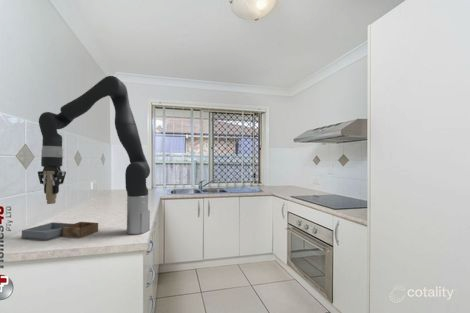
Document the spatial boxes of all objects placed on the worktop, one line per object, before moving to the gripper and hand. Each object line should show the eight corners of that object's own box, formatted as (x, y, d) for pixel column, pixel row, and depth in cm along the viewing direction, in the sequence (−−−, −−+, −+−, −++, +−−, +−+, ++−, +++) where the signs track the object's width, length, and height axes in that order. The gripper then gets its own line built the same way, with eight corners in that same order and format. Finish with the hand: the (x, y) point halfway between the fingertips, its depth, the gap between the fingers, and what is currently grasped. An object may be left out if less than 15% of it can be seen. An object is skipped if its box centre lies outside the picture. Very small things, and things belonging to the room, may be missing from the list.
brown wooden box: (98, 231, 104) (98, 222, 104) (80, 237, 95) (80, 228, 95) (80, 229, 106) (80, 221, 106) (61, 236, 97) (62, 227, 97)
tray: (75, 231, 104) (76, 223, 104) (47, 240, 91) (47, 232, 91) (52, 229, 107) (52, 222, 107) (21, 238, 94) (21, 230, 94)
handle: (51, 202, 103) (52, 170, 103) (61, 202, 101) (62, 170, 101) (40, 204, 98) (41, 171, 98) (50, 204, 96) (51, 171, 97)
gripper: (31, 156, 98) (30, 194, 97) (56, 155, 95) (55, 195, 94) (48, 156, 105) (47, 192, 105) (72, 156, 102) (71, 192, 102)
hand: (51, 193), depth 99 cm, fingers closed on handle, 4 cm apart
